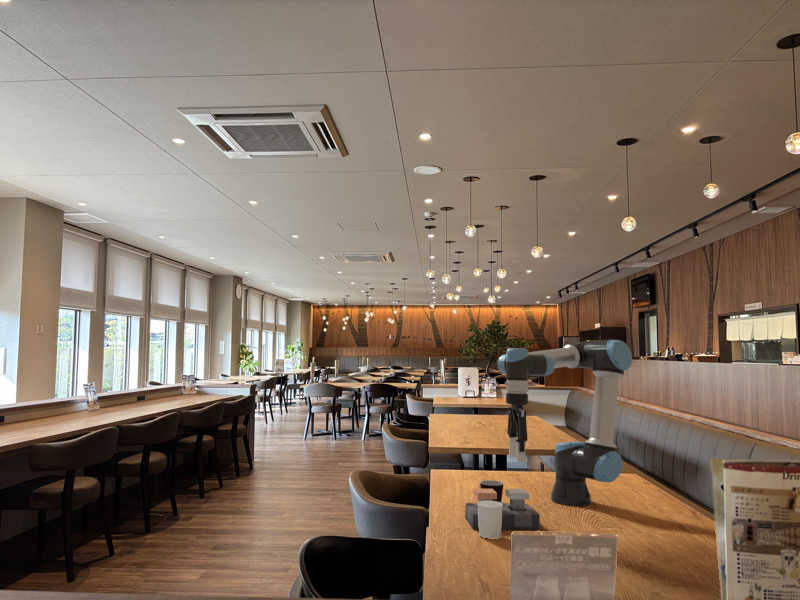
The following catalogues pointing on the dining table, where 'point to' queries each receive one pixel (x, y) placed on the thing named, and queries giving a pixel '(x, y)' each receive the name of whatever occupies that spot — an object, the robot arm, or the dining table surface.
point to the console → (507, 517)
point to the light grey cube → (517, 498)
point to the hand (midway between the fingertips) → (517, 458)
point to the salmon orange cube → (485, 494)
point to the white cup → (490, 519)
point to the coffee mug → (494, 485)
